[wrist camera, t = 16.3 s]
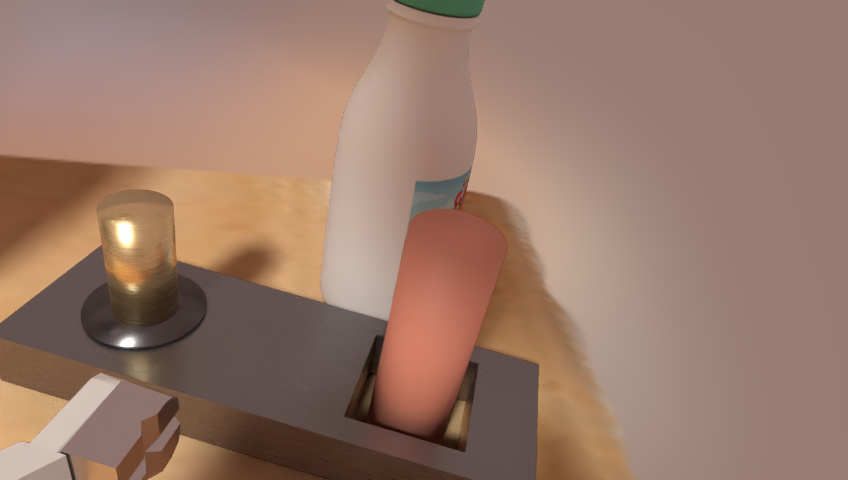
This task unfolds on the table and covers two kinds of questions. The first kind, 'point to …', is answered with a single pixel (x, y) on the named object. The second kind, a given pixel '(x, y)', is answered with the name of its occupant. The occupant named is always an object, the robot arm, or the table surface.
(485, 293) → the red peg
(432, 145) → the milk bottle
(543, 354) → the table surface
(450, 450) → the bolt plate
